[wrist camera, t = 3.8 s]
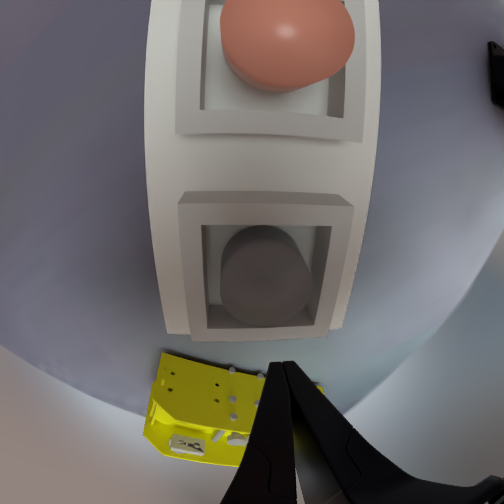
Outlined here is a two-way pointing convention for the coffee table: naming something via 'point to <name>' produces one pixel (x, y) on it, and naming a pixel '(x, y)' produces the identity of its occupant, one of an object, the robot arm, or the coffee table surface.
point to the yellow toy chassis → (202, 411)
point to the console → (254, 169)
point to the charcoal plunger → (264, 276)
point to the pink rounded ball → (285, 41)
